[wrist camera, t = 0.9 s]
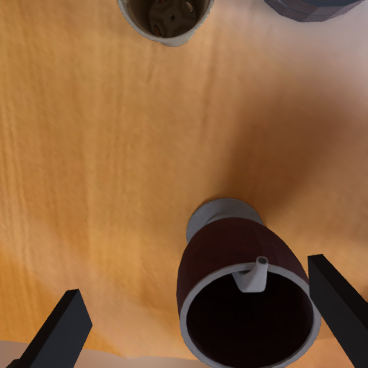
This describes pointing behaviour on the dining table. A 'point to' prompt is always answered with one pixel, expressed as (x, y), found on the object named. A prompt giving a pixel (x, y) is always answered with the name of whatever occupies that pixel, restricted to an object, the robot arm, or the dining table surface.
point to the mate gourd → (242, 291)
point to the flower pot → (166, 18)
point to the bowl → (312, 8)
